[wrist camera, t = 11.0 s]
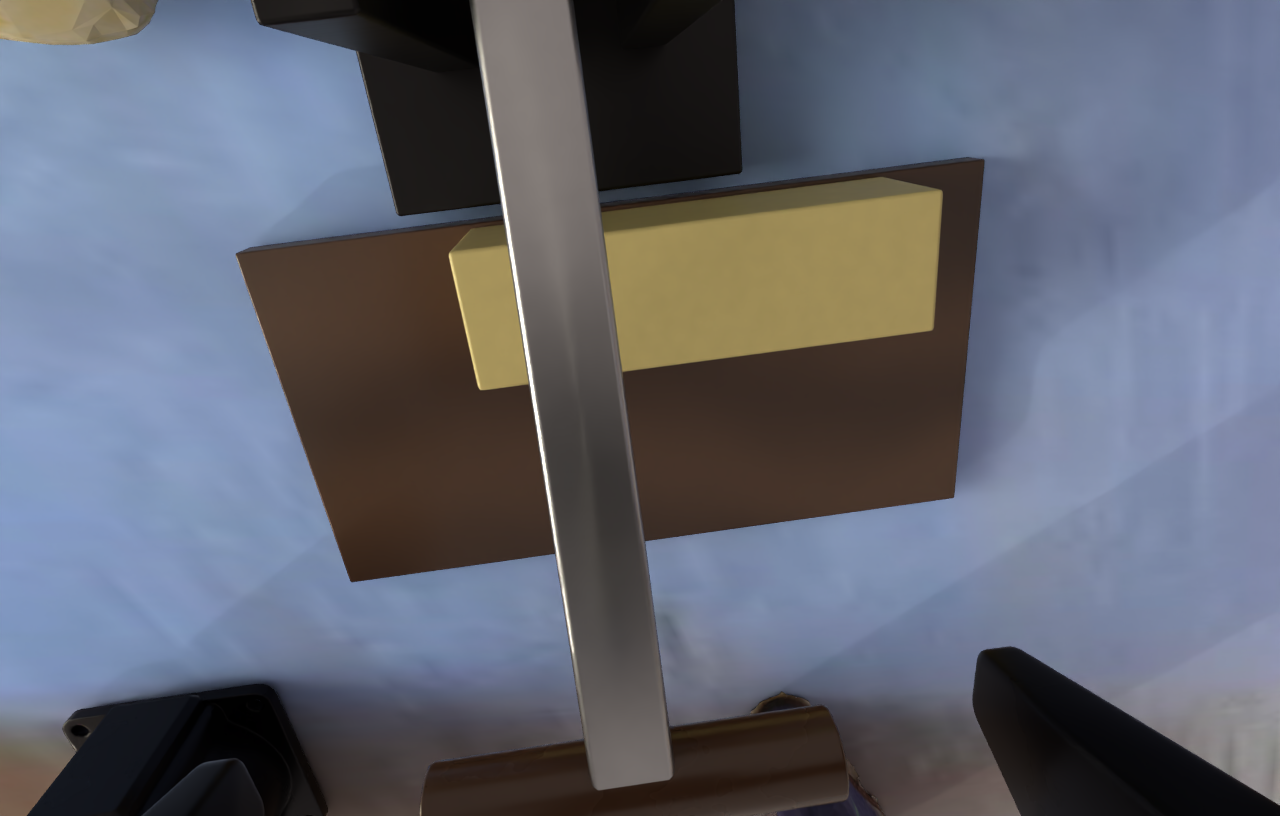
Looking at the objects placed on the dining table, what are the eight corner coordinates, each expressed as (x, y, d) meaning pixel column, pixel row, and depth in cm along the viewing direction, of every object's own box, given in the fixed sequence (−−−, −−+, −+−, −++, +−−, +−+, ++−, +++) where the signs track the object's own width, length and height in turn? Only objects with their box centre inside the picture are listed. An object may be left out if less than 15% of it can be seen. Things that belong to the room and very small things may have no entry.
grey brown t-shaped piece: (812, 735, 11) (872, 860, 8) (459, 787, 10) (415, 931, 8) (713, -293, 8) (755, -529, 6) (264, -246, 8) (124, -468, 6)
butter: (880, 297, 18) (935, 331, 15) (494, 347, 17) (478, 392, 15) (883, 175, 16) (945, 189, 14) (469, 228, 16) (446, 252, 13)
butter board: (941, 485, 21) (954, 498, 20) (358, 566, 20) (350, 583, 20) (968, 157, 17) (985, 159, 16) (248, 247, 17) (233, 253, 16)
